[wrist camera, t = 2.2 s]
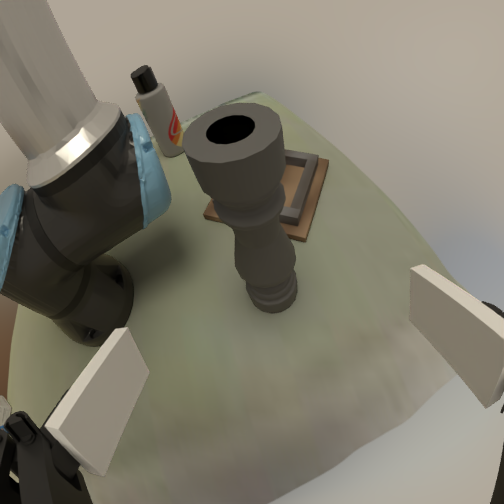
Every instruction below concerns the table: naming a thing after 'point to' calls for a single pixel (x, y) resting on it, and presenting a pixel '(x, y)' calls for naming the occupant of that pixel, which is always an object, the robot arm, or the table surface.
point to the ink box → (4, 411)
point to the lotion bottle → (158, 111)
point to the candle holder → (248, 194)
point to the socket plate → (295, 193)
